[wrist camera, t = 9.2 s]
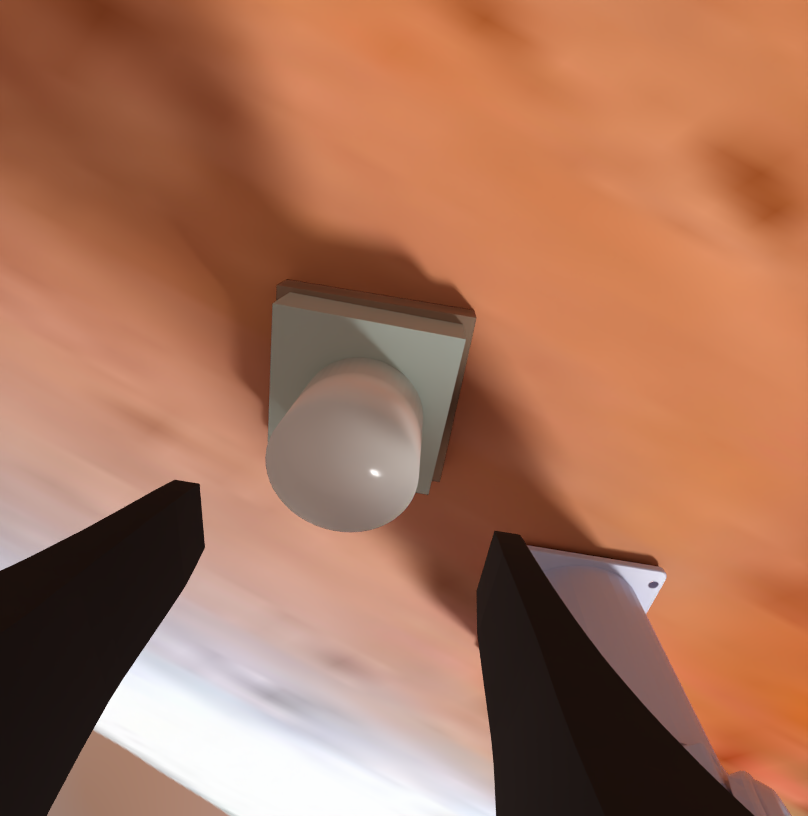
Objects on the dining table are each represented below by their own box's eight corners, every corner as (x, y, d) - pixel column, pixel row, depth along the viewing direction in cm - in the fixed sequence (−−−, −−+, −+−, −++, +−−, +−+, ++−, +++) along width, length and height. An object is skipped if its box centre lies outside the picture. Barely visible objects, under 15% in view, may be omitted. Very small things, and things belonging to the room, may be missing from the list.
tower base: (439, 459, 22) (439, 482, 21) (287, 434, 22) (273, 454, 21) (473, 306, 19) (476, 317, 17) (292, 276, 19) (276, 285, 17)
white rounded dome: (411, 476, 18) (404, 544, 15) (298, 455, 18) (263, 517, 14) (434, 370, 16) (432, 417, 12) (307, 346, 16) (268, 386, 12)
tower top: (429, 468, 20) (428, 494, 19) (282, 441, 20) (266, 465, 19) (463, 324, 17) (465, 339, 16) (289, 292, 17) (272, 303, 15)
